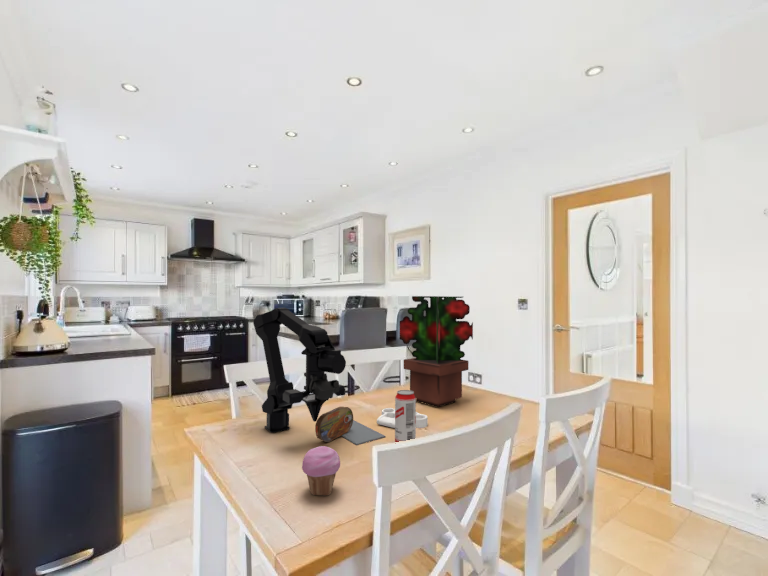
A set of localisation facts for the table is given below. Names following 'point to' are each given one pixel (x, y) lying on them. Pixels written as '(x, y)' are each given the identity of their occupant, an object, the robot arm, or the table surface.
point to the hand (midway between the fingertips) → (314, 421)
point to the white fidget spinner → (389, 418)
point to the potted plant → (436, 348)
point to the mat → (361, 434)
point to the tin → (334, 423)
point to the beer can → (405, 415)
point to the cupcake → (321, 469)
